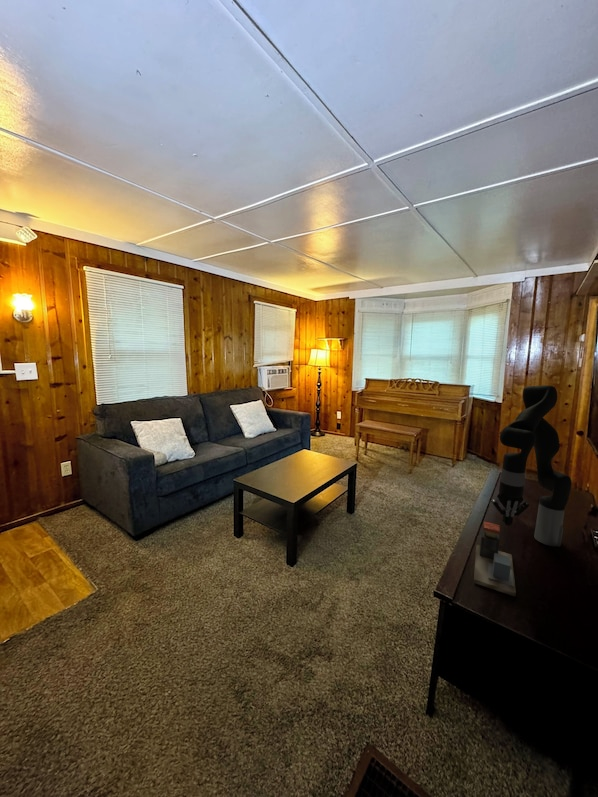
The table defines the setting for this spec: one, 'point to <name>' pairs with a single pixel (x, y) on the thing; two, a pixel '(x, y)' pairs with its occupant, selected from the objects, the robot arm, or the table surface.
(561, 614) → the table surface
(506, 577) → the block
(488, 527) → the block
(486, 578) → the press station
